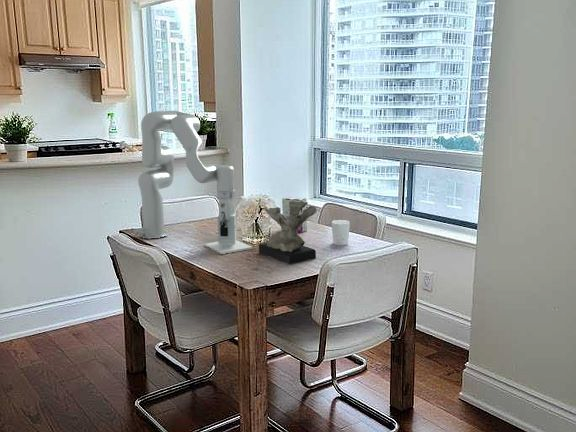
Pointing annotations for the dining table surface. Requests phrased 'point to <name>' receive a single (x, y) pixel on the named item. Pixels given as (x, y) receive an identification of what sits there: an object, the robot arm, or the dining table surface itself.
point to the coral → (289, 235)
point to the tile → (228, 247)
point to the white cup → (340, 232)
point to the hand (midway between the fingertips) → (227, 233)
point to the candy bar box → (286, 211)
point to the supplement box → (231, 232)
